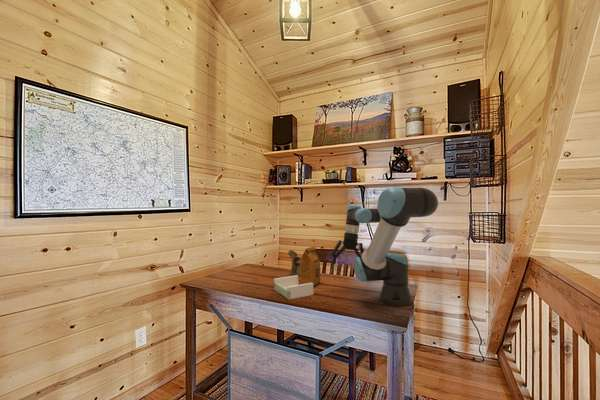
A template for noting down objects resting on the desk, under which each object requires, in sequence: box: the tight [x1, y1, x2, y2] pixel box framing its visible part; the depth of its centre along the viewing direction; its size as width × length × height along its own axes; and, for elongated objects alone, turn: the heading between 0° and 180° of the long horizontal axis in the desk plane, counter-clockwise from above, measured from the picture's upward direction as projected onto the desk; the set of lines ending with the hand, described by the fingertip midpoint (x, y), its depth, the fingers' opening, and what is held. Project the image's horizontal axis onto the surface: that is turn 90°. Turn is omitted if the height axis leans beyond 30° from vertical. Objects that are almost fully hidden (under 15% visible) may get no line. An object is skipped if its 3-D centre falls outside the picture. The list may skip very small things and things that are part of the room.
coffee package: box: [299, 245, 321, 286], centre depth 165 cm, size 10×12×22 cm
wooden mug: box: [287, 249, 301, 278], centre depth 184 cm, size 9×14×18 cm, turn 155°
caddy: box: [273, 275, 314, 301], centre depth 151 cm, size 18×15×6 cm
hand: (346, 271), depth 154 cm, fingers open, 13 cm apart
